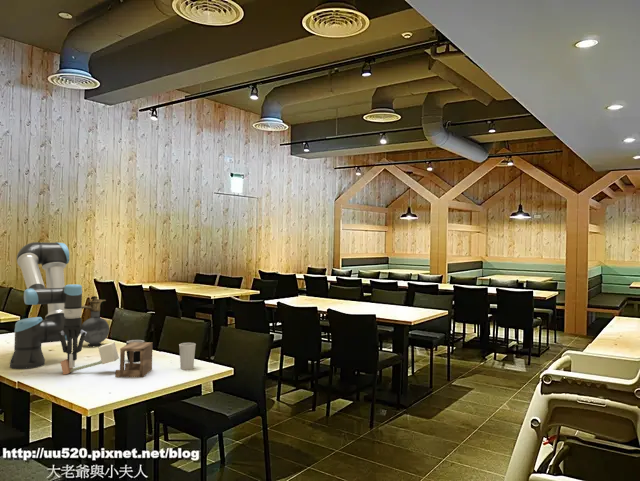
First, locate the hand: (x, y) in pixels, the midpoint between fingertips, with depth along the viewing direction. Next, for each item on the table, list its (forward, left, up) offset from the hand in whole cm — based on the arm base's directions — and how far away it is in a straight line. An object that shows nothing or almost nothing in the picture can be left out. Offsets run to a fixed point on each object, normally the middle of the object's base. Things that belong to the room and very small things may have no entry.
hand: (71, 367), depth 238 cm
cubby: (+29, 0, -3) cm, 29 cm away
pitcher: (-15, +64, -3) cm, 66 cm away
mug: (+23, +27, -3) cm, 35 cm away
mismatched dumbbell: (+9, +1, 0) cm, 9 cm away
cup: (+52, +10, -3) cm, 53 cm away
